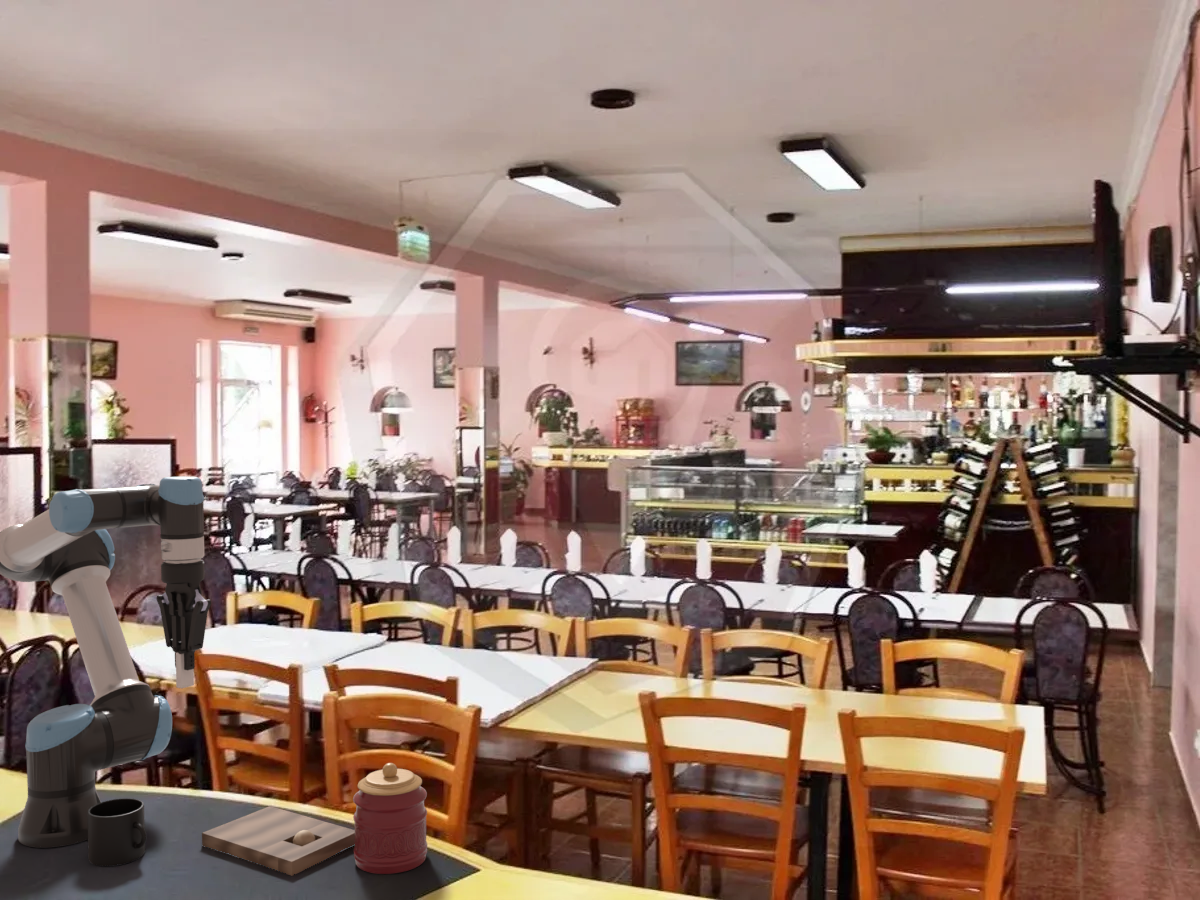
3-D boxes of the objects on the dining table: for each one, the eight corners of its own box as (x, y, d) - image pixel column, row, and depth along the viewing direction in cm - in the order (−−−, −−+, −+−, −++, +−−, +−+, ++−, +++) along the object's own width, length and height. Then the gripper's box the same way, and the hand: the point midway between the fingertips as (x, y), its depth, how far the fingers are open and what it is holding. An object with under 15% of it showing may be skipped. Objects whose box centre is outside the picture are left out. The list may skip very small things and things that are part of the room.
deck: (202, 846, 204) (201, 832, 204) (270, 818, 218) (270, 806, 218) (292, 875, 192) (291, 861, 191) (358, 844, 205) (358, 831, 205)
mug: (124, 873, 193) (123, 822, 192) (76, 861, 198) (75, 812, 197) (167, 853, 201) (166, 804, 201) (119, 842, 206) (118, 795, 206)
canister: (439, 850, 202) (438, 755, 201) (406, 880, 190) (405, 779, 189) (376, 842, 206) (375, 749, 205) (339, 870, 194) (338, 771, 193)
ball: (284, 843, 201) (294, 829, 200) (301, 836, 205) (311, 822, 203) (296, 861, 200) (306, 847, 198) (313, 853, 203) (323, 839, 202)
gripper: (142, 560, 205) (145, 686, 206) (188, 565, 198) (190, 695, 199) (177, 555, 211) (180, 677, 212) (222, 560, 204) (224, 686, 205)
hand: (185, 686), depth 205 cm, fingers closed
